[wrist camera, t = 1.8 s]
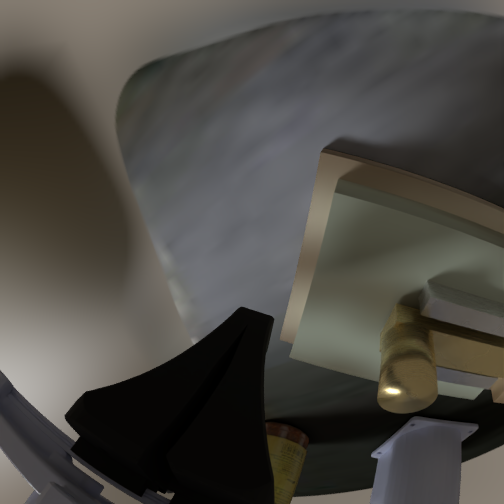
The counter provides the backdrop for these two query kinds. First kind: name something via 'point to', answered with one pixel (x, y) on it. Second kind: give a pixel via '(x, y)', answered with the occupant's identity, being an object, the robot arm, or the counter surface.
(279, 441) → the sauce bottle
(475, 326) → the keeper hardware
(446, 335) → the bolt
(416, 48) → the counter surface
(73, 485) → the robot arm
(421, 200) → the door and jamb
